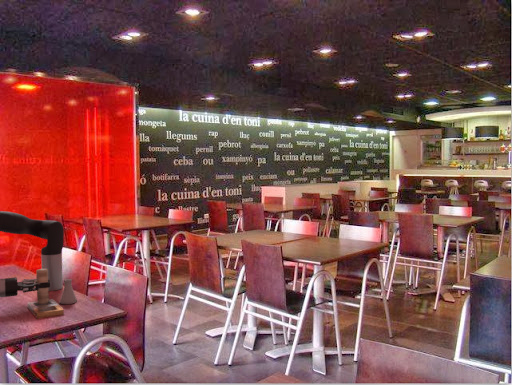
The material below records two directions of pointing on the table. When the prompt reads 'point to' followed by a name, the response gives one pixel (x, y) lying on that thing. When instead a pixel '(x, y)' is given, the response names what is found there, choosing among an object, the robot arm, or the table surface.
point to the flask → (68, 293)
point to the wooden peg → (42, 292)
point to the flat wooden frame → (45, 309)
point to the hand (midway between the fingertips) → (49, 283)
